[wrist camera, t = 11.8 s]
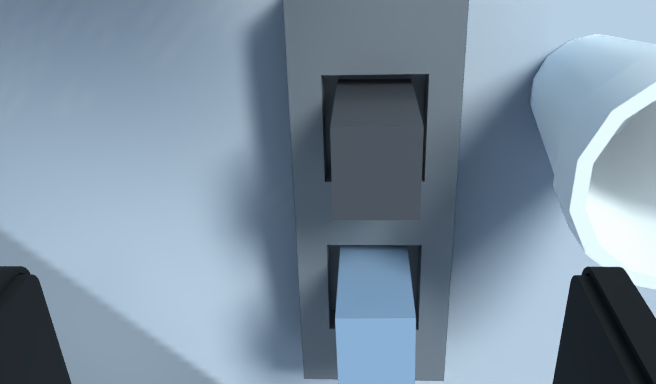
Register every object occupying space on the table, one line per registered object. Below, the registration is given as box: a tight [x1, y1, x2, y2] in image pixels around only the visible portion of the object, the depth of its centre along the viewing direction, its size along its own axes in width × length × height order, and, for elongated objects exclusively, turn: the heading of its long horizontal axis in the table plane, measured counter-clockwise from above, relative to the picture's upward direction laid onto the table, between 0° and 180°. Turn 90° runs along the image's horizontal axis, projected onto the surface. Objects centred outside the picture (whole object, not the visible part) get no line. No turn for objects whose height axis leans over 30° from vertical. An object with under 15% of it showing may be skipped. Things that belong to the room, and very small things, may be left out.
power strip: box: [283, 0, 469, 381], centre depth 33 cm, size 30×9×10 cm, turn 2°
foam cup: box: [530, 34, 656, 290], centre depth 29 cm, size 10×9×13 cm
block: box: [335, 245, 416, 384], centre depth 35 cm, size 4×4×8 cm
